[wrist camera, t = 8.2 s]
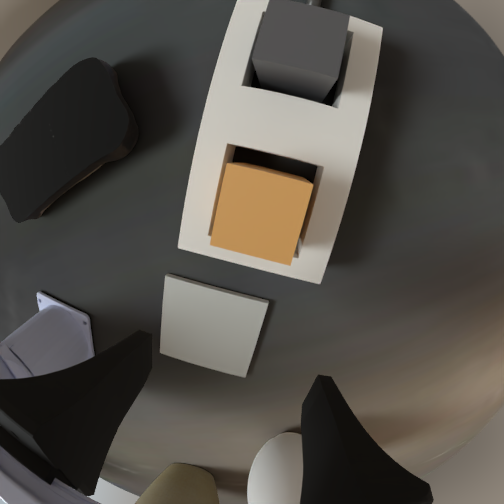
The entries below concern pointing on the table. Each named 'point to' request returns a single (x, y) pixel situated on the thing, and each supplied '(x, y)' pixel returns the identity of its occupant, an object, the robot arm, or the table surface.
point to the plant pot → (181, 487)
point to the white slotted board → (281, 139)
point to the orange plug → (260, 212)
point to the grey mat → (210, 325)
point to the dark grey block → (300, 49)
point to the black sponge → (65, 138)
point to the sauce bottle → (277, 471)
